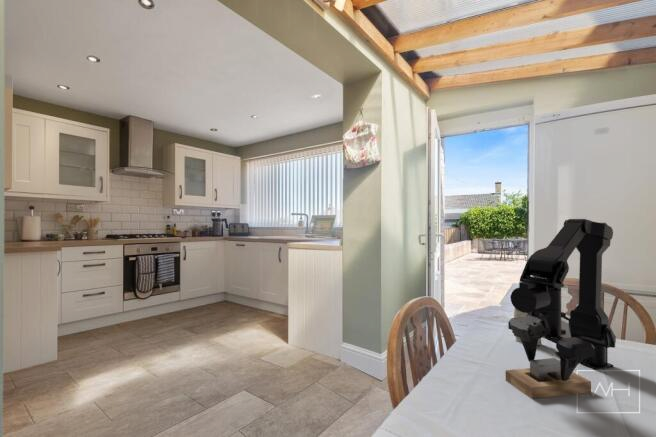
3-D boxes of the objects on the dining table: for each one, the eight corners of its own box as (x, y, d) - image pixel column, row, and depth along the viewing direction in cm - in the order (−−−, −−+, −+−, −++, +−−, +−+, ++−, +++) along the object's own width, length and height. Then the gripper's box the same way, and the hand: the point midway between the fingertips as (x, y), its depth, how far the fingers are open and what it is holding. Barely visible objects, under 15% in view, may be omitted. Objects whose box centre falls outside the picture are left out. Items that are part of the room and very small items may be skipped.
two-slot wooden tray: (559, 374, 80) (559, 365, 80) (591, 391, 72) (591, 381, 72) (505, 380, 77) (505, 370, 77) (531, 398, 69) (531, 387, 69)
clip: (554, 382, 76) (554, 358, 76) (563, 387, 74) (563, 362, 74) (530, 384, 75) (529, 360, 75) (538, 390, 72) (538, 365, 72)
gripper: (490, 298, 82) (490, 356, 82) (552, 321, 64) (552, 395, 64) (526, 296, 84) (526, 353, 84) (596, 318, 66) (597, 390, 66)
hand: (546, 370), depth 74 cm, fingers open, 9 cm apart
